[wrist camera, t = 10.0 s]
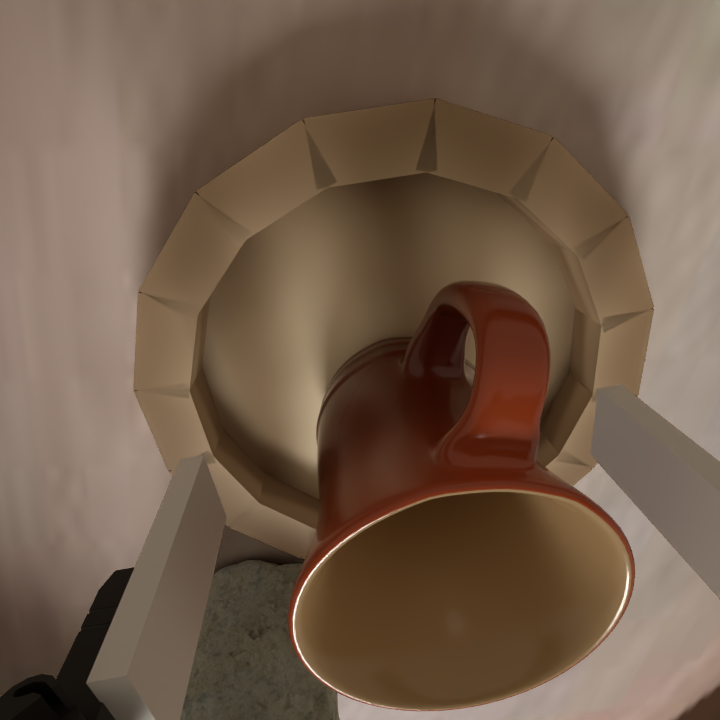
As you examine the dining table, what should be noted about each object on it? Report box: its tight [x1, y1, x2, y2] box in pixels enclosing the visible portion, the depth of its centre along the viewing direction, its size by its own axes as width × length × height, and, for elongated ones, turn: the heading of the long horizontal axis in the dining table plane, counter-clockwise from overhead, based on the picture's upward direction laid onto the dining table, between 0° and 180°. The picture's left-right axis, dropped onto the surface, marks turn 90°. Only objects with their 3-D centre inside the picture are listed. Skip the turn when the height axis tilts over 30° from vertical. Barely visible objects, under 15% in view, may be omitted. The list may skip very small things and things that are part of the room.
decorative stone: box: [180, 560, 340, 720], centre depth 25 cm, size 13×11×10 cm
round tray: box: [133, 98, 654, 559], centre depth 19 cm, size 20×20×3 cm
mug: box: [288, 281, 635, 711], centre depth 15 cm, size 12×9×10 cm
